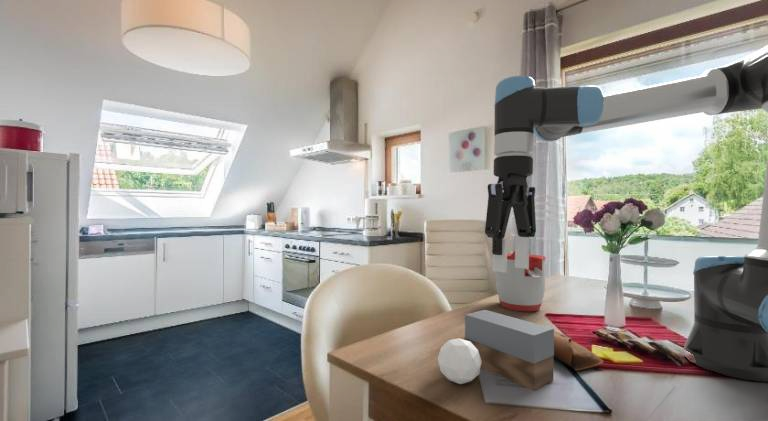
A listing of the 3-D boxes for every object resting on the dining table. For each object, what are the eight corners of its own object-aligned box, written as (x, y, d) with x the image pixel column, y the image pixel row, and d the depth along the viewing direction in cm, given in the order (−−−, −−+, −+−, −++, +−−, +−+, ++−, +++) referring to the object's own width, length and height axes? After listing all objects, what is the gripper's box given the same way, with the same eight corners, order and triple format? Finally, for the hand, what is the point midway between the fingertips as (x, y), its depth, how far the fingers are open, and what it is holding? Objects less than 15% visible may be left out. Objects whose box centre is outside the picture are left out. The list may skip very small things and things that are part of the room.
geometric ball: (452, 369, 73) (452, 329, 73) (489, 382, 67) (489, 339, 67) (429, 382, 67) (429, 338, 67) (467, 397, 62) (467, 350, 62)
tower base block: (553, 381, 68) (553, 355, 68) (534, 392, 64) (534, 364, 64) (483, 354, 81) (483, 332, 81) (463, 362, 77) (463, 338, 77)
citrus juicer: (514, 317, 108) (514, 250, 108) (486, 303, 125) (486, 245, 125) (561, 314, 111) (561, 249, 111) (527, 300, 128) (527, 244, 128)
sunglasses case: (608, 360, 73) (591, 336, 72) (584, 385, 72) (567, 360, 71) (548, 331, 91) (533, 311, 90) (528, 350, 89) (513, 330, 88)
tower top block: (553, 355, 68) (553, 328, 68) (534, 363, 64) (533, 335, 64) (484, 332, 81) (484, 309, 81) (465, 338, 77) (465, 314, 77)
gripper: (522, 163, 83) (520, 263, 83) (466, 153, 70) (464, 271, 70) (555, 159, 77) (553, 267, 77) (500, 148, 64) (498, 277, 64)
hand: (510, 269), depth 74 cm, fingers open, 7 cm apart
